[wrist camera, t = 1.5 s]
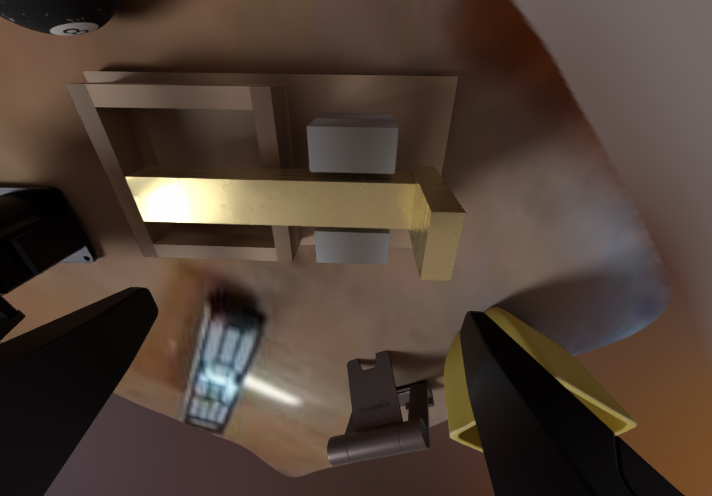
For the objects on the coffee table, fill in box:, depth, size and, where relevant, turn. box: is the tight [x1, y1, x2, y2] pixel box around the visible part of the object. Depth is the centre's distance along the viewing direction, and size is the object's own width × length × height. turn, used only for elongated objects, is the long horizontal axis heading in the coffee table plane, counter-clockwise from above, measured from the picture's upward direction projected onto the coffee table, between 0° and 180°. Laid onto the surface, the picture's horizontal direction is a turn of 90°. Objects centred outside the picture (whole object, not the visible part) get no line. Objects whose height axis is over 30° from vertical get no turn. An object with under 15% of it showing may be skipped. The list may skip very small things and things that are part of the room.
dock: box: [65, 71, 458, 265], centre depth 17 cm, size 21×11×6 cm, turn 89°
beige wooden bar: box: [125, 165, 466, 281], centre depth 13 cm, size 15×3×6 cm, turn 89°
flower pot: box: [444, 307, 637, 452], centre depth 23 cm, size 9×9×9 cm
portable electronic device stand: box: [327, 351, 434, 466], centre depth 28 cm, size 9×8×8 cm
